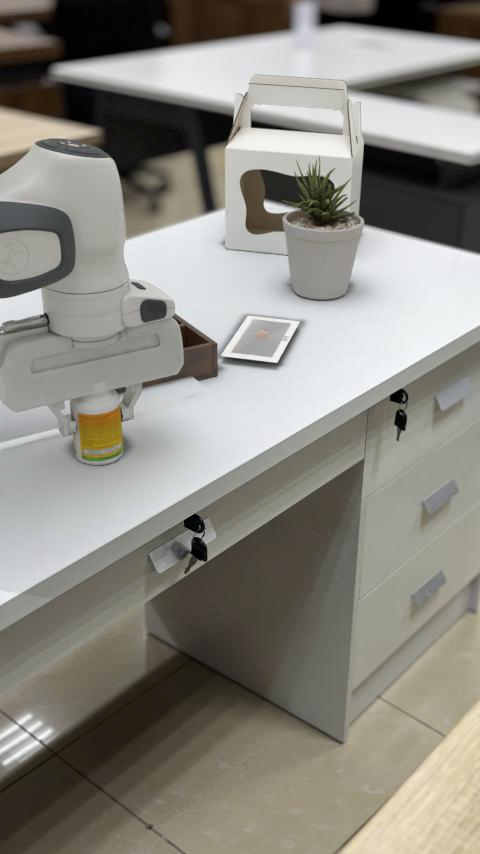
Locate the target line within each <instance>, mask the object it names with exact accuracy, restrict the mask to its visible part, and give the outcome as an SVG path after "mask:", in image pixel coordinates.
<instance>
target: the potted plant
mask: <svg viewBox="0 0 480 854" xmlns="http://www.w3.org/2000/svg"><path fill="white" fill-rule="evenodd" d="M296 162H297V160H296ZM297 165H298V162H297ZM316 167H317V160H316V164H315V169H314V167H313V164H312V175H311V171H310V163H309V173H308V171H307V174H308V176H307V178H308V181H307V179H306V178H305V176H303V174H302V172H301V170H300V167H299V165H298V168H299V171H300V174H301V176H300V177H301V179H302V182H303V183H302V182H301V181H300V179H299V176H297V175H296V173H295V171H294V173H295V176H294V177H295V179H296V182H297V185H298V187H299V189H300V190H301V192H302V195H303V196H302V195H301V194H300V193H299V192H298V191H296V193H297V195H298V196H299V197H300V199H301V202H299V203H297V202H293V201H287V200H283V199H280V201H281V202H284V203H286V204H285V206H286V207H293V208H292V209H293V210H290V211H287V212H288V213H286V214H285V215H284V216H283V228H284V231H285V236H286V244H287V253H288V255H287V259H288V260H287V261H288V270H289V276H290V284H291V289H292V291H293V292H294V293H295V294H296V295H298V296H300V297H302V298H305V299H311V300H315V301H316V300H317V301H318V300H320V301H321V300H322V301H323V300H324V301H325V300H326V301H328V300H335V299H337V298H340V297H342V296H344V295H345V294H346V293H347V292H348V288H349V285H350V281H351V277H352V273H353V269H354V264H355V260H356V257H357V251H358V248H359V243H360V239H361V235H362V234H363V230H364V226H365V219H364V218H363V217H362V216H361V215H360V214H359V215H357V214H355V212H349V211H346V210H345V209H347V208H348V207H350V206H351V205H352V204H353V203H354V202H355V201H356V200H355V201H354V202H352V203H351V204H350V205H348V206H346V207H344V208H342V209H337V208H338V207H339V206H340V205H341V204H342V203H343V202H344V201H345V200H346V199H348V198H347V197H345V198H344V199H343V200H342V201H340V200H341V199H342V198H343V197H344V196H346V195H347V194H344V195H342V196H340V197H339V198H338V196H339V195H340V193H341V192H342V190H343V189H344V187H345V186H346V184H347V183H348V182H349V181H350V180H351V179H352V178H350V179H349V180H348V181H347V182H346V183H345V184H344V185H341V186H339V187H338V188H336V189H335V188H333V190H332V189H331V188H332V186H331V185H332V183H330V182H329V184H328V181H329V180H330V179H329V176H330V174H331V173H332V172H333V171H334V170H335V168H334V169H333V170H331V171H330V172H329V173H328V174H327V175H326V177H323V175H322V176H320V157H319V171H318V176H317V172H316ZM321 177H322V180H321ZM321 181H322V182H321ZM326 188H327V191H326V192H325V190H326ZM337 192H338V193H337ZM336 193H337V194H336ZM334 194H336V196H335V197H334V198H333V196H334ZM332 198H333V199H332ZM339 201H340V202H339ZM338 202H339V203H338ZM337 203H338V204H337ZM295 208H298V209H295Z"/></svg>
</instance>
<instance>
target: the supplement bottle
mask: <svg viewBox="0 0 480 854" xmlns="http://www.w3.org/2000/svg"><path fill="white" fill-rule="evenodd" d="M92 393H93V394H91V395H88V396H84V397H80V398H75V399H71V400H69V410H70V415H71V416H72V418H74V419H75V420H76V423H77V426H76V429H77V434H73V435H72V438H73V439H72V440H73V450H74V455H75V457H76V459H77V460H78V461H80V462H81V463H84V464H87V465H91V466H104V465H109V464H112V463H114V462H116V461H118V460H119V459H120V458H122V456H123V455H124V451H125V450H124V449H125V448H124V436H123V424H122V423H123V422H121V409H120V401H121V399H120V395H119V393H117V392H116V391H115V390H114V389H113V390H108V388H107V386H106V381H102V382H98V383H95V384H94V390H93V392H92Z"/></svg>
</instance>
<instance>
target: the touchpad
mask: <svg viewBox="0 0 480 854" xmlns="http://www.w3.org/2000/svg"><path fill="white" fill-rule="evenodd" d="M300 323H301V321H299V320H291V319H283V318H275V317H264V316H256V315H247V316H246V318H245V319H244V320H243V322H242V324H241V325H240V326H239V328H238V329H237V331H236V332H235V334H234V335H233V337H232V338H231V340H230V341H229V343H228V344H227V345H226V347H225V348H224V350H223V351H222V353H221V355H220V357H225V358H233V359H241V360H249V361H258V362H267V363H275V364H278V363H279V361H280V358H281V357H282V355H283V354H284V352H285V350H286V348H287V346H288V344H289V342H290V341H291V339H292V337H293V335H294V334H295V332H296V330H297V328H298V326H299V324H300Z"/></svg>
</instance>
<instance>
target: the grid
mask: <svg viewBox="0 0 480 854" xmlns="http://www.w3.org/2000/svg"><path fill="white" fill-rule="evenodd" d="M172 318H173V319H175V320H176V321H177V323H178V325H179V327H180V331H181V336H182V343H183V354H184V363H183V366H182V368H181V369H180V371H179V372H178V374H176V375H172V376H168V377H164V378H160V379H155V380H151V381H147V382H143V383H142V389H143V388H147V387H151V386H155V385H159V384H162V383H167V382H172V381H176V380H180V379H185V378H188V377H192V378H194V379H195V381H198V382H199V381H202V380H206V379H211V378H215V377H218V376H219V362H218V361H219V358H218V357H219V353H218V352H219V351H218V347H219V346H218V342H216V340H213V339H212V338H211V337H209V336H208V335H207V334H205V333H204V332H202V331H201V330H199V329H198V328H197V327H195V326H194V325H193V324H191V323H189V322H188V321H187V320H185V319H184V318H182V317H181V316H180V315H178V314H177V313H175V314H174V315H173V316H172ZM114 390H115V391H116V392H117V393H118V394H122V393H125V391H126V387H122V388H117V389H114Z"/></svg>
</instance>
